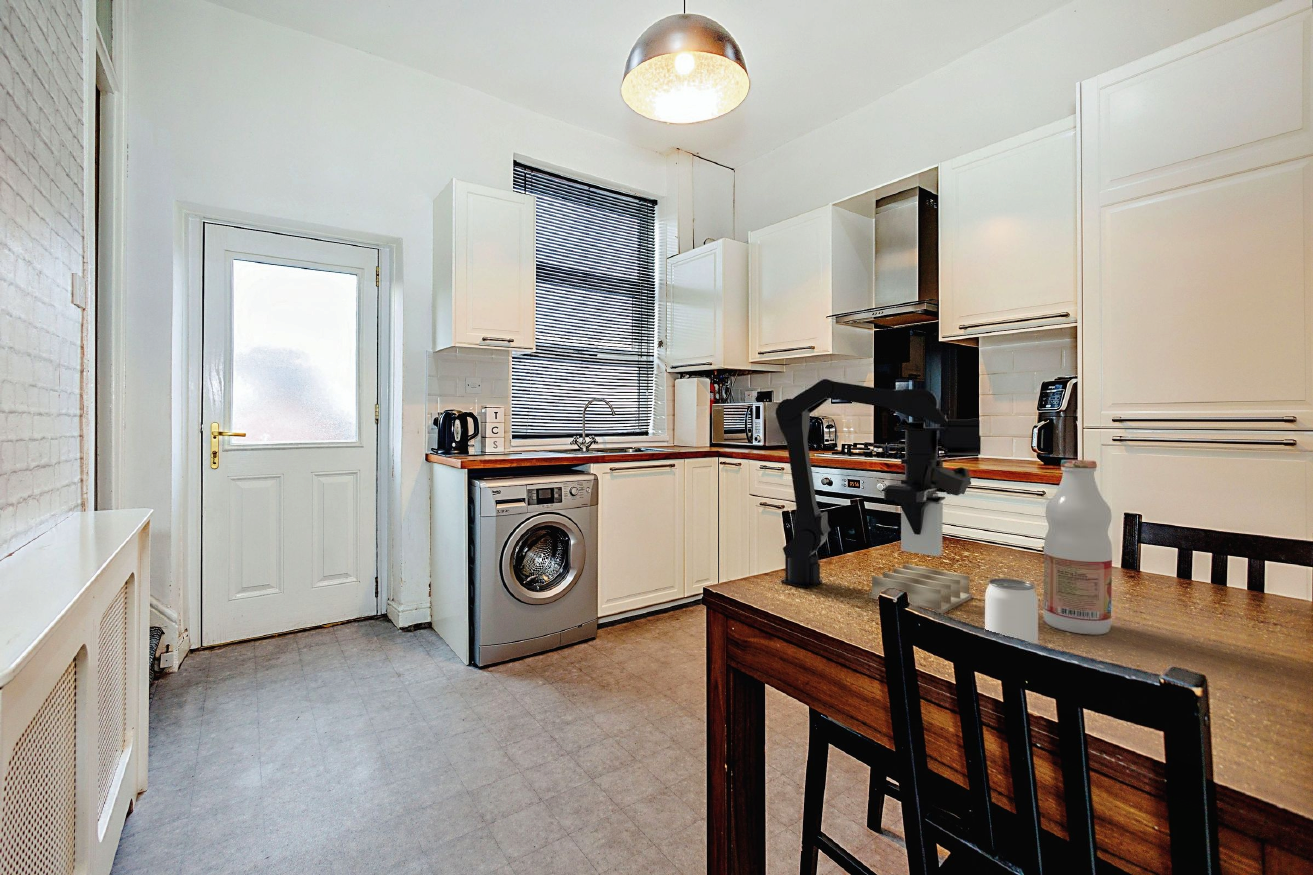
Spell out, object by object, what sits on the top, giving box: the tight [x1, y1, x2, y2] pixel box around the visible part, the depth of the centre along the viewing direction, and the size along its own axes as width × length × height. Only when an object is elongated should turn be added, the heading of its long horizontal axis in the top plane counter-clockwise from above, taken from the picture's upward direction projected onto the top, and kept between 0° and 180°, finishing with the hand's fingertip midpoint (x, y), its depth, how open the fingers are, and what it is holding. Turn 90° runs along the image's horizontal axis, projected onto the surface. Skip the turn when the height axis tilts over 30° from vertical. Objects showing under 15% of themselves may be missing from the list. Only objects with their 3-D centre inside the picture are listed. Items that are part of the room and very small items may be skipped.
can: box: [984, 577, 1039, 645], centre depth 85 cm, size 6×6×12 cm
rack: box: [868, 563, 974, 615], centre depth 118 cm, size 14×14×4 cm
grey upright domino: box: [900, 501, 944, 557], centre depth 117 cm, size 7×2×10 cm, turn 43°
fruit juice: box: [1042, 459, 1113, 636], centre depth 101 cm, size 9×9×28 cm
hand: (920, 533), depth 118 cm, fingers closed on grey upright domino, 2 cm apart
